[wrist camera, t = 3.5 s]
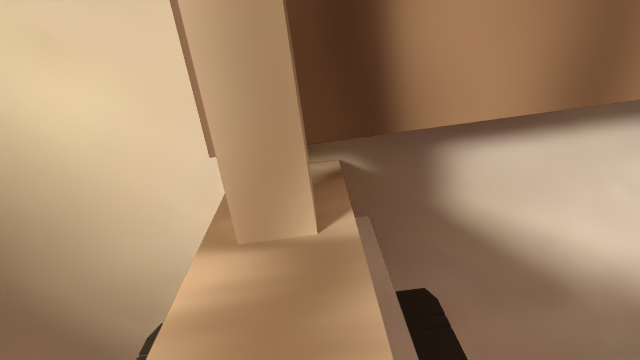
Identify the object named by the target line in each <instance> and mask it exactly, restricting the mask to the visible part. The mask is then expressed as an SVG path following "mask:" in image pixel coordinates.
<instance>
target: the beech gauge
mask: <svg viewBox="0 0 640 360" xmlns="http://www.w3.org/2000/svg"><path fill="white" fill-rule="evenodd" d="M178 4H179V8H180V12H181V16H182V20H183V24H184V29H185V33H186V37H187V41H188V45H189V49H190V53H191V57H192V61H193V65H194V69H195V73H196V77H197V81H198V85H199V89H200V93H201V97H202V101H203V105H204V109H205V114H206V118H207V122H208V126H209V130H210V134H211V138H212V142H213V146H214V150H215V154H216V158H217V162H218V166H219V170H220V174H221V178H222V182H223V186H224V190H225V194H224V197H223V199H222V201H221V203H220V205H219V207H218V209H217V211H216V213H215V215H214V218H213V220H212V222H211V224H210V226H209V228H208V230H207V232H206V234H205V237H204V239H203V241H202V243H201V245H200V247H199V249H198V251H197V253H196V255H195V258H194V260H193V262H192V264H191V266H190V268H189V270H188V272H187V274H186V276H185V279H184V281H183V283H182V285H181V287H180V289H179V291H178V293H177V295H176V297H175V300H174V302H173V304H172V306H171V308H170V310H169V312H168V314H167V316H166V318H165V321H164V323H163V325H162V327H161V329H160V331H159V333H158V335H157V337H156V339H155V342H154V344H153V346H152V348H151V350H150V352H149V354H148V356H147V358H146V360H393V356H392V352H391V349H390V345H389V341H388V338H387V334H386V331H385V327H384V323H383V320H382V316H381V312H380V309H379V305H378V301H377V298H376V294H375V290H374V287H373V283H372V279H371V276H370V272H369V268H368V265H367V261H366V257H365V254H364V250H363V246H362V243H361V239H360V235H359V232H358V228H357V224H356V221H355V217H354V213H353V210H352V206H351V202H350V199H349V195H348V192H347V188H346V184H345V181H344V177H343V173H342V170H341V166H340V162H339V160H333V161H325V162H318V163H311V164H309V158H308V151H307V144H306V137H305V131H304V124H303V117H302V110H301V103H300V97H299V90H298V83H297V76H296V69H295V63H294V56H293V49H292V42H291V35H290V29H289V22H288V15H287V8H286V1H285V0H178Z"/></svg>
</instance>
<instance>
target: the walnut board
mask: <svg viewBox="0 0 640 360" xmlns="http://www.w3.org/2000/svg"><path fill="white" fill-rule="evenodd" d="M285 1H286V8H287V15H288V22H289V29H290V35H291V42H292V49H293V56H294V63H295V69H296V76H297V83H298V90H299V97H300V103H301V110H302V117H303V124H304V131H305V137H306V144H307V145H308V144H315V143H322V142H330V141H337V140H345V139H352V138H360V137H367V136H374V135H382V134H389V133H397V132H404V131H412V130H419V129H426V128H434V127H441V126H449V125H456V124H463V123H471V122H478V121H486V120H493V119H501V118H508V117H515V116H523V115H530V114H538V113H545V112H553V111H560V110H567V109H575V108H582V107H590V106H597V105H605V104H612V103H619V102H627V101H634V100H640V0H285ZM170 4H171V8H172V11H173V15H174V19H175V23H176V27H177V31H178V35H179V39H180V43H181V47H182V51H183V55H184V59H185V63H186V66H187V70H188V74H189V78H190V82H191V86H192V90H193V94H194V98H195V102H196V106H197V110H198V114H199V118H200V121H201V125H202V129H203V133H204V137H205V141H206V145H207V149H208V153H209V157H210V158H211V157H216V154H215V150H214V146H213V142H212V138H211V134H210V130H209V126H208V122H207V118H206V114H205V109H204V105H203V101H202V97H201V93H200V89H199V85H198V81H197V77H196V73H195V69H194V65H193V61H192V57H191V53H190V49H189V45H188V41H187V37H186V33H185V29H184V24H183V20H182V16H181V12H180V8H179V4H178V0H170Z"/></svg>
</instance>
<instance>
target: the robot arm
mask: <svg viewBox="0 0 640 360" xmlns="http://www.w3.org/2000/svg"><path fill="white" fill-rule="evenodd" d="M355 221H356V224H357V228H358V232H359V235H360V239H361V243H362V246H363V250H364V254H365V257H366V261H367V265H368V268H369V272H370V276H371V279H372V283H373V287H374V290H375V294H376V298H377V301H378V305H379V309H380V312H381V316H382V320H383V323H384V327H385V331H386V334H387V338H388V341H389V345H390V349H391V352H392V356H393V360H468V359H467V357H466V355H465V353H464V351H463V349H462V347H461V345H460V343H459V341H458V339H457V337H456V335H455V333H454V331H453V329H451V325H450V323H449V321H448V319H447V317H446V316H445V313H444V311H443V309H442V307H441V305H440V303H439V301H438V299H437V298H436V297H434V296H433V295H432V294H431V293H430V292H429V291H427V290H426V289H425V288H420V289H413V290H405V291H397V292H395V290H394V287H393V284H392V282H391V279H390V276H389V273H388V270H387V267H386V264H385V261H384V259H383V256H382V253H381V250H380V247H379V244H378V241H377V238H376V236H375V233H374V230H373V227H372V224H371V221H370V218H369V216H362V217H355ZM162 325H163V323H161V324H160V325H159V326H158V327H157V329H156V330H155V331H154V332H153V333H152V334H151V335H150V336H149V337H148V338H147V340H146V342H145V344H144V346H143V348H142V350H141V352H140V354H139V358H137V360H146V358H147V356H148V354H149V352H150V350H151V348H152V346H153V344H154V342H155V339H156V337H157V335H158V333H159V331H160V329H161V327H162Z"/></svg>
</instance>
